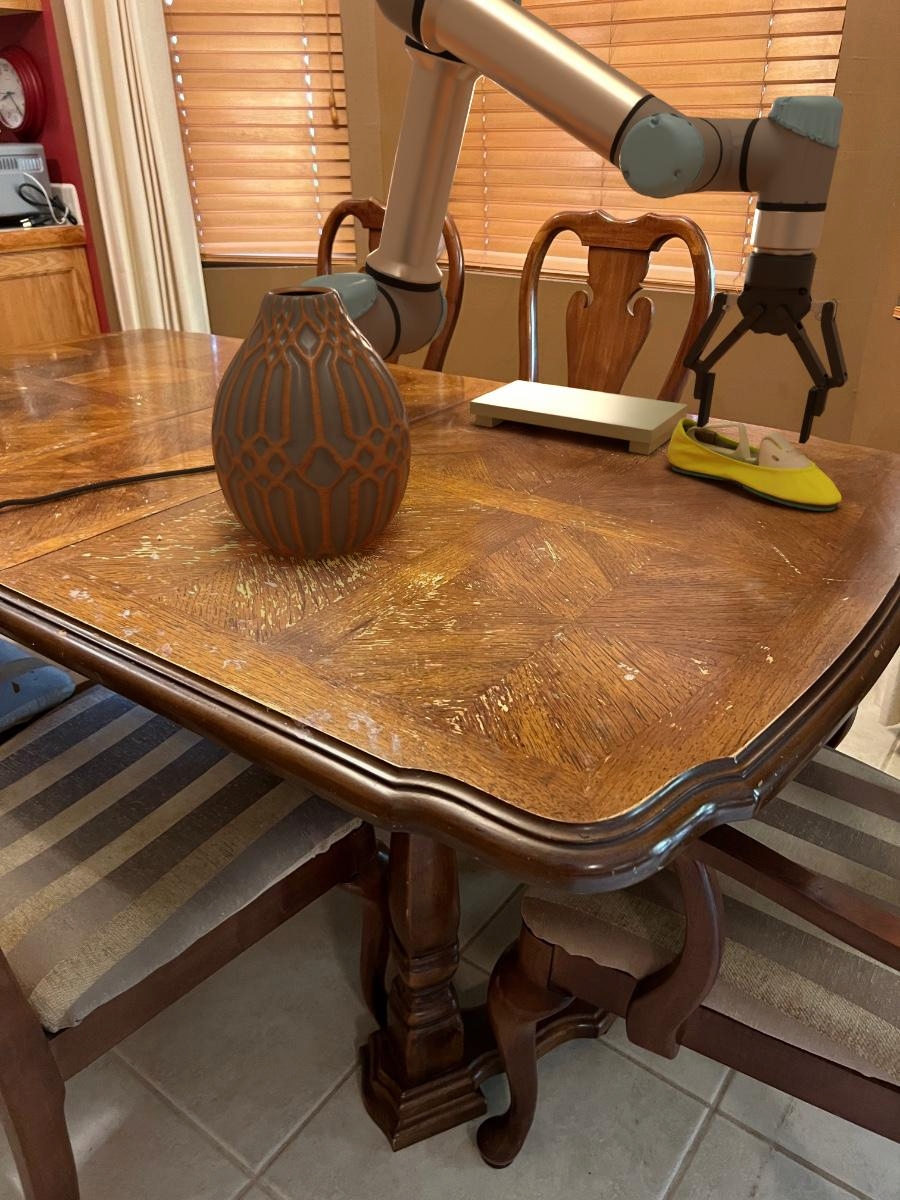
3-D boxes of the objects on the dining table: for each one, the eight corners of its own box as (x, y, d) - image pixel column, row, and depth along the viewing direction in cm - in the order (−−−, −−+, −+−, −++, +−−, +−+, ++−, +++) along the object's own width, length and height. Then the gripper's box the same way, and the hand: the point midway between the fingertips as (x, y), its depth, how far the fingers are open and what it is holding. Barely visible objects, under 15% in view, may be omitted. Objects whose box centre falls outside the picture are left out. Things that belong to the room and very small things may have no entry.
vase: (288, 494, 111) (266, 272, 98) (440, 517, 104) (439, 282, 91) (186, 560, 93) (144, 301, 80) (361, 593, 86) (346, 315, 74)
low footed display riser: (649, 457, 123) (652, 430, 122) (469, 426, 137) (469, 401, 136) (685, 429, 135) (688, 404, 134) (516, 403, 149) (517, 380, 148)
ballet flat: (818, 522, 102) (832, 456, 98) (650, 471, 118) (657, 413, 114) (849, 505, 107) (864, 442, 103) (684, 458, 123) (691, 402, 119)
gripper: (902, 254, 96) (858, 440, 107) (690, 241, 108) (669, 411, 118) (893, 260, 91) (848, 457, 101) (670, 247, 102) (650, 424, 112)
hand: (751, 432), depth 109 cm, fingers open, 12 cm apart
